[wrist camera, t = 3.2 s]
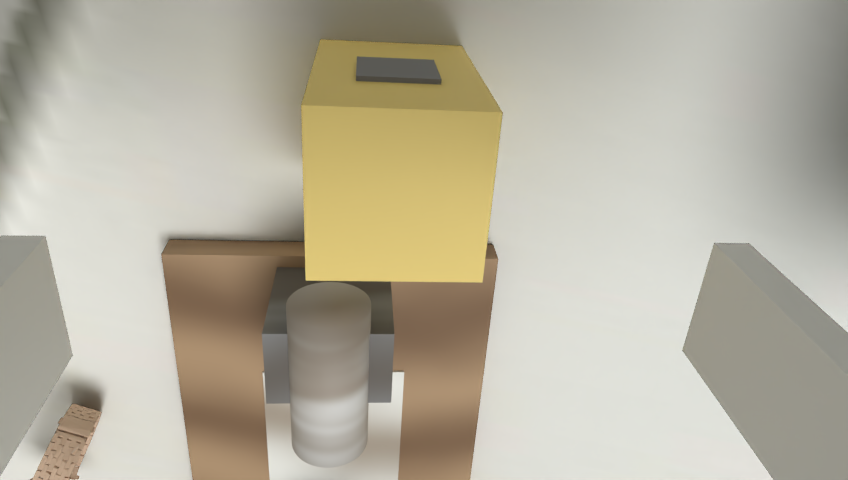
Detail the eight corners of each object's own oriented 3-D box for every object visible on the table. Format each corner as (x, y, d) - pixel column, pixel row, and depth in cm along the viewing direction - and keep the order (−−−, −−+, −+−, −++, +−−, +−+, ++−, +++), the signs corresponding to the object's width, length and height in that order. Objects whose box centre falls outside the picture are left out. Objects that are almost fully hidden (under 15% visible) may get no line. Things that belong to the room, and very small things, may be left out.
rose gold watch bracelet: (41, 449, 31) (-13, 543, 27) (68, 375, 29) (16, 462, 25) (100, 466, 32) (57, 560, 27) (130, 395, 30) (89, 483, 25)
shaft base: (167, 228, 26) (110, 328, 20) (494, 234, 27) (530, 329, 22) (210, 552, 35) (179, 687, 29) (456, 544, 36) (474, 672, 30)
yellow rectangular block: (320, 34, 23) (300, 98, 16) (462, 41, 24) (503, 106, 17) (322, 176, 26) (305, 285, 19) (450, 179, 26) (481, 286, 19)
